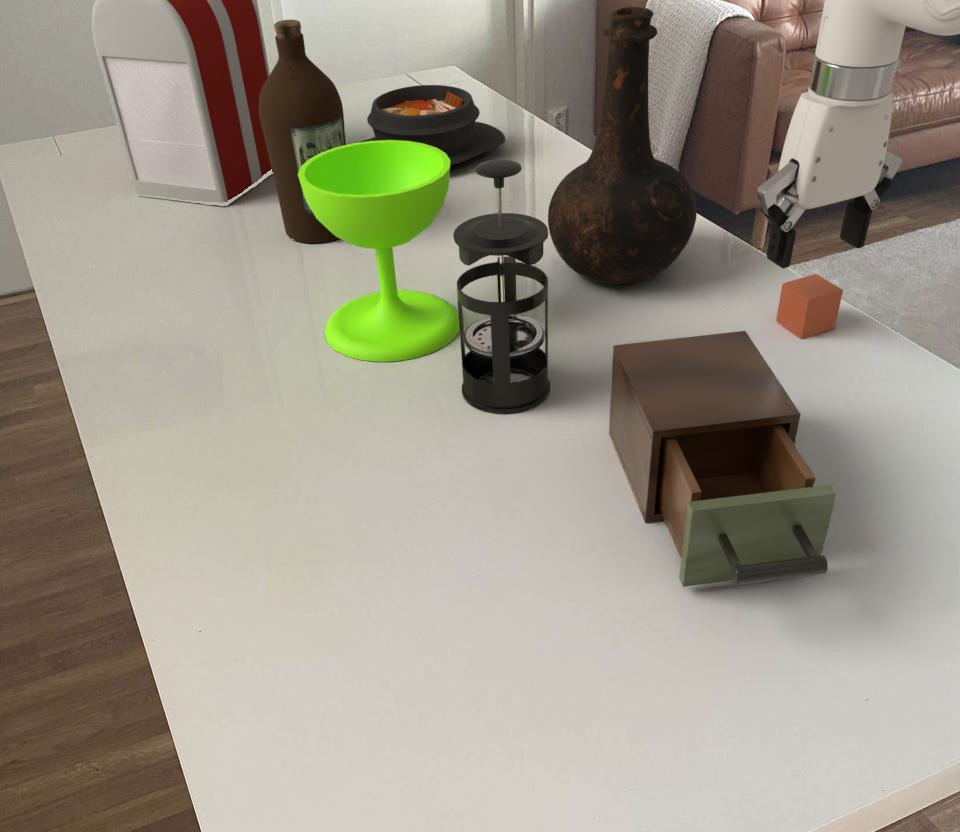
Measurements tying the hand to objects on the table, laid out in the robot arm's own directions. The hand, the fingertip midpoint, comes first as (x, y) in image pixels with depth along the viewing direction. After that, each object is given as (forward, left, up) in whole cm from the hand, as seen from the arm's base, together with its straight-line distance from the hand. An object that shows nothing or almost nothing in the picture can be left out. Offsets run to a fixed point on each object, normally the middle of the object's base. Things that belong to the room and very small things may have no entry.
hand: (814, 253), depth 108 cm
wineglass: (+46, -10, -8) cm, 47 cm away
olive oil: (+54, -40, -8) cm, 67 cm away
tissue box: (+70, -63, -8) cm, 94 cm away
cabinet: (+20, +24, -8) cm, 32 cm away
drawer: (+20, +37, -7) cm, 43 cm away
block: (0, 0, -8) cm, 8 cm away
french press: (+35, +6, -8) cm, 36 cm away
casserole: (+37, -63, -8) cm, 73 cm away
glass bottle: (+17, -19, -8) cm, 26 cm away
